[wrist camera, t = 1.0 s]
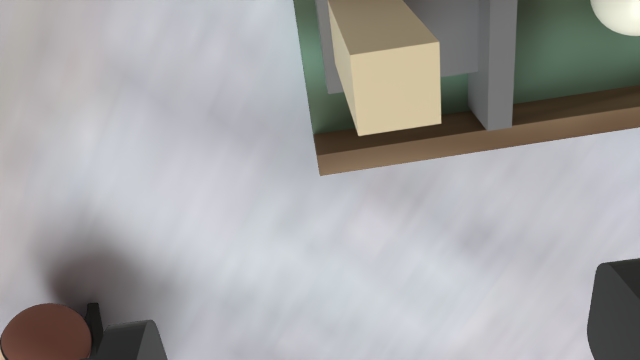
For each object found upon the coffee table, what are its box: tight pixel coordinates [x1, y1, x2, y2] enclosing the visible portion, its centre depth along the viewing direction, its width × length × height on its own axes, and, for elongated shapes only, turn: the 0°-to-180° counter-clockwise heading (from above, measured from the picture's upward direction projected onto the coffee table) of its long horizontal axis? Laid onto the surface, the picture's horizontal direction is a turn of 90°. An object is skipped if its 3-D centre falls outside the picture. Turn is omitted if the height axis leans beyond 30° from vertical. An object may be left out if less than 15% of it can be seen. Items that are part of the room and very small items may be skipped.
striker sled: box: [315, 0, 517, 136], centre depth 24 cm, size 11×9×10 cm
